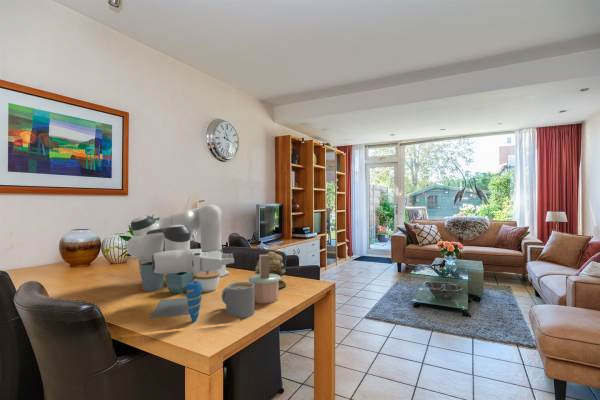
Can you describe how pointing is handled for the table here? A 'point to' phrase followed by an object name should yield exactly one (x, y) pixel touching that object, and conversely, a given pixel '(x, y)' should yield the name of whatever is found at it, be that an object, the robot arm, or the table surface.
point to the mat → (171, 308)
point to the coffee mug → (239, 299)
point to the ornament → (194, 298)
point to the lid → (264, 273)
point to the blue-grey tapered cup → (151, 278)
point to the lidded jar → (208, 280)
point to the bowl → (266, 293)
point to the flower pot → (178, 281)
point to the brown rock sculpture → (274, 267)
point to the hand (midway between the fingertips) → (233, 258)
